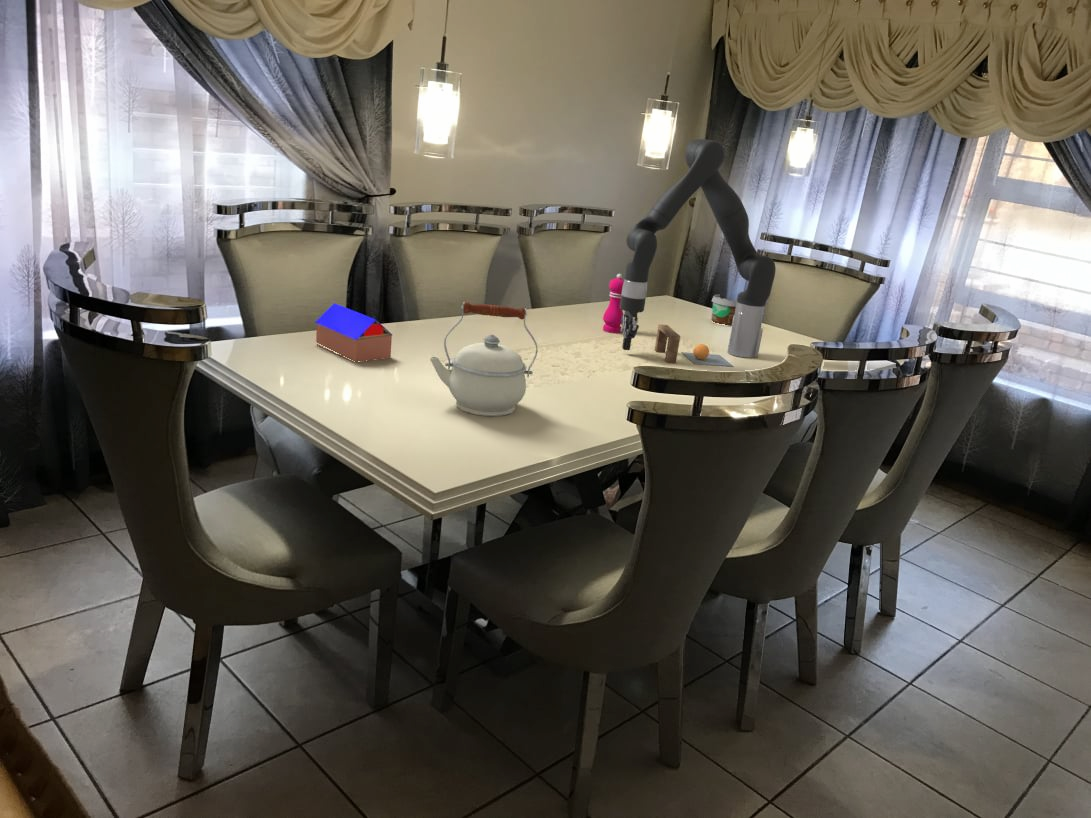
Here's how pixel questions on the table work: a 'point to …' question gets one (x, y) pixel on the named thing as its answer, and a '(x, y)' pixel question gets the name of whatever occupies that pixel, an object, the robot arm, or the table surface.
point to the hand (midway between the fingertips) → (625, 349)
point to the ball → (701, 352)
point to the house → (353, 334)
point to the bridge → (672, 345)
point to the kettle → (486, 369)
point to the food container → (723, 310)
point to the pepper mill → (614, 307)
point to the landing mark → (708, 360)
